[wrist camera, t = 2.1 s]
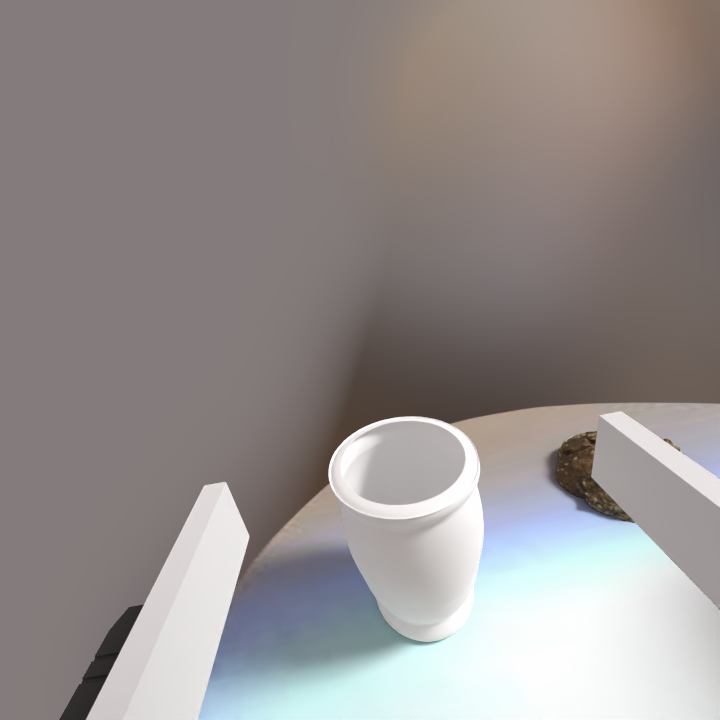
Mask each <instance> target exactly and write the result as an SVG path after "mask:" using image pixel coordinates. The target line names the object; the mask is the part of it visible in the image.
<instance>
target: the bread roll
mask: <svg viewBox="0 0 720 720" xmlns="http://www.w3.org/2000/svg"><path fill="white" fill-rule="evenodd" d="M596 436H597V431H595V432H586V433H583V434H579V435H575V436H574V437H572V438H571V439H569V440H567V442H563V444H562V446H561V448H560V449H559V453H558V455H559V466H558V467H557V469H556V480H557V481H558V483H559V484H560V485H561V486H562V487H563V488H564V489H566V490H567V491H568V492H570V493H571V494H573V495H575V496H577V497H580V498H584V499H586V502H587V503H588V504H589V505H590V506H591V507H592V508H594V509H595V510H597V511H599V512H601V513H603V514H605V515H610V516H614V517H617V518H619V519H621V520H623V521H631V522H634V521H633V520H632V518H631V517H630V516H629V515H628V514H627V513H626V512H625V511H624V510H623V509H622V508H621V507H620V506H619V505H618V504H617V503H616V502H615V501H614V500H613V499H612V498H611V497H610V496H609V495H608V494H607V493H606V492H605V491H604V490H603V489H602V488H601V487H600V485H599V484H598V483H597V482H596V481H595V480H594V479H593V478H592V477H591V475H592V467H593V459H594V452H595V444H596ZM659 438H660V437H659ZM662 440H663V439H662ZM664 441H665V442H667V443H668V444H669V445H671V446H672V447H674V448H675V449H677V450H678V451H680V447H677V446H674V445H673V443H672V442H671V441H670V440H669V439H664ZM685 456H686V455H685ZM634 523H635V522H634Z"/></svg>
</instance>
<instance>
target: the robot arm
mask: <svg viewBox="0 0 720 720" xmlns="http://www.w3.org/2000/svg"><path fill="white" fill-rule="evenodd" d="M591 477H592V478H593V479H594V480H595V481H596V482H597V483H598V484H599V485H600V487H601V488H602V489H603V490H604V491H605V492H606V493H607V494H608V495H609V496H610V497H611V498H612V499H613V500H614V501H615V502H616V503H617V504H618V505H619V506H620V507H621V508H622V509H623V510H624V511H625V512H626V513H627V514H628V515H629V516H630V517H631V518H632V520H633V521H634V522H635V523H636V524H637V525H638V526H639V527H640V528H641V529H642V530H643V531H644V532H645V533H646V534H647V535H648V536H649V537H650V538H651V539H652V540H653V541H654V542H655V543H656V544H657V545H658V546H659V547H660V548H661V549H662V550H663V551H664V553H665V554H666V555H667V556H668V557H669V558H670V559H671V560H672V561H673V562H674V563H675V564H676V565H677V566H678V567H679V568H680V569H681V570H682V571H683V572H684V573H685V574H686V575H687V576H688V577H689V578H690V579H691V580H692V581H693V582H694V583H695V584H696V586H697V587H698V588H699V589H700V590H701V591H702V592H703V593H704V594H705V595H706V596H707V597H708V598H709V599H710V600H711V601H712V602H713V603H714V604H715V605H716V606H717V607H718V608H719V609H720V479H719V478H717V477H716V476H715V475H713V474H712V473H710V472H709V471H707V470H706V469H704V468H703V467H701V466H700V465H699V464H697V463H696V462H694V461H693V460H691V459H690V458H688V457H687V456H685V455H684V454H683V453H681V452H680V451H678V450H677V449H675V448H674V447H672V446H671V445H669V444H668V443H667V442H665V441H664V440H662V439H661V438H659V437H658V436H656V435H655V434H653V433H652V432H651V431H649V430H648V429H646V428H645V427H643V426H642V425H640V424H639V423H637V422H636V421H635V420H633V419H632V418H630V417H629V416H627V415H626V414H624V413H623V412H616V413H610V414H604V415H599V421H598V429H597V436H596V444H595V452H594V459H593V467H592V475H591ZM248 540H249V534H248V532H247V530H246V528H245V525H244V523H243V520H242V518H241V516H240V514H239V511H238V509H237V507H236V504H235V502H234V500H233V497H232V495H231V493H230V491H229V488H228V486H227V484H226V482H223V483H216V484H211V485H205V486H204V487H203V489H202V491H201V493H200V495H199V497H198V499H197V502H196V503H195V505H194V507H193V509H192V511H191V513H190V515H189V517H188V519H187V521H186V523H185V525H184V527H183V529H182V531H181V533H180V535H179V537H178V539H177V541H176V543H175V545H174V547H173V549H172V551H171V553H170V555H169V557H168V559H167V561H166V562H165V564H164V566H163V568H162V570H161V572H160V574H159V576H158V578H157V580H156V582H155V584H154V586H153V588H152V590H151V592H150V594H149V596H148V598H147V600H146V602H145V604H144V605H139V606H134V607H129V608H128V609H127V610H126V611H125V613H124V614H123V615H122V616H121V617H120V619H119V620H118V621H117V622H116V623H115V624H114V626H113V627H112V628H111V629H110V630H109V632H108V634H107V636H106V638H105V639H104V641H103V643H102V645H101V646H100V648H99V650H98V652H97V653H96V655H95V660H94V661H93V662H91V664H90V666H89V668H88V670H87V672H86V673H85V675H84V677H83V681H82V684H79V686H78V687H77V689H76V691H75V693H74V695H73V696H72V698H71V700H70V702H69V704H68V706H67V707H66V709H65V711H64V713H63V714H62V716H61V718H60V720H198V717H199V713H200V709H201V706H202V702H203V699H204V695H205V692H206V688H207V685H208V681H209V678H210V674H211V671H212V667H213V664H214V660H215V657H216V653H217V650H218V646H219V642H220V639H221V635H222V632H223V628H224V625H225V621H226V618H227V614H228V611H229V607H230V604H231V600H232V597H233V593H234V590H235V586H236V582H237V579H238V575H239V572H240V568H241V565H242V561H243V558H244V554H245V551H246V547H247V544H248Z"/></svg>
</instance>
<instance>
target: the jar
mask: <svg viewBox="0 0 720 720" xmlns="http://www.w3.org/2000/svg"><path fill="white" fill-rule="evenodd" d="M479 474H480V463H479V458H478V453H477V450H476V448H475V446H474V444H473V443H472V441H471V440H470V439H469V438H468V436H467V435H465V434H464V433H463V432H462V431H460V430H459V429H458V428H456V427H454V426H452V425H450V424H448V423H445V422H443V421H440V420H436V419H431V418H425V417H397V418H391V419H386V420H382V421H379V422H376V423H373V424H371V425H368V426H366V427H364V428H362V429H360V430H358V431H357V432H355V433H354V434H352V435H351V436H349V437H348V438H347V439H346V440H345V441H344V442H343V443H342V444H341V445H340V446H339V447H338V449H337V450H336V451H335V453H334V455H333V457H332V459H331V462H330V466H329V481H330V484H331V487H332V490H333V492H334V495H335V497H336V498H337V500H338V502H339V503H340V504H341V515H342V522H343V528H344V533H345V537H346V541H347V544H348V547H349V550H350V552H351V555H352V557H353V559H354V561H355V563H356V565H357V567H358V569H359V571H360V573H361V574H362V576H363V577H364V579H365V581H366V583H367V585H368V587H369V589H370V590H371V592H372V593H373V595H374V596H375V597H376V600H377V604H378V607H379V609H380V612H381V614H382V615H383V617H384V619H385V620H386V621H387V623H388V624H389V625H390V626H391V627H392V628H393V629H394V630H396V631H397V632H398V633H400V634H401V635H403V636H405V637H407V638H410V639H413V640H417V641H423V642H432V641H438V640H442V639H444V638H447V637H449V636H451V635H452V634H454V633H455V632H456V631H458V630H459V629H460V628H461V627H462V626H463V624H464V623H465V622H466V620H467V619H468V617H469V615H470V612H471V610H472V606H473V601H474V589H473V586H474V583H475V580H476V576H477V571H478V565H479V561H480V556H481V551H482V545H483V531H484V525H483V512H482V505H481V500H480V495H479V491H478V487H477V483H478V480H479Z"/></svg>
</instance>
